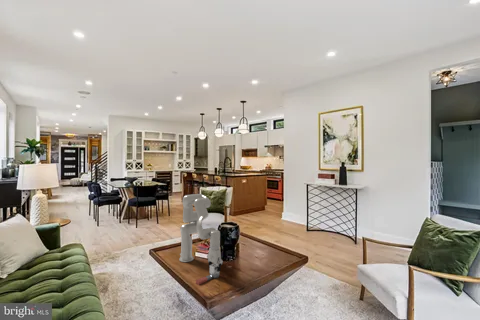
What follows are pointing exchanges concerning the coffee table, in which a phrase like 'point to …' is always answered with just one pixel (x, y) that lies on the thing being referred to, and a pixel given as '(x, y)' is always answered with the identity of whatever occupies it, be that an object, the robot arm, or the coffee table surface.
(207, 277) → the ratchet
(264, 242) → the coffee table surface
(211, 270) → the socket
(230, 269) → the coffee table surface
